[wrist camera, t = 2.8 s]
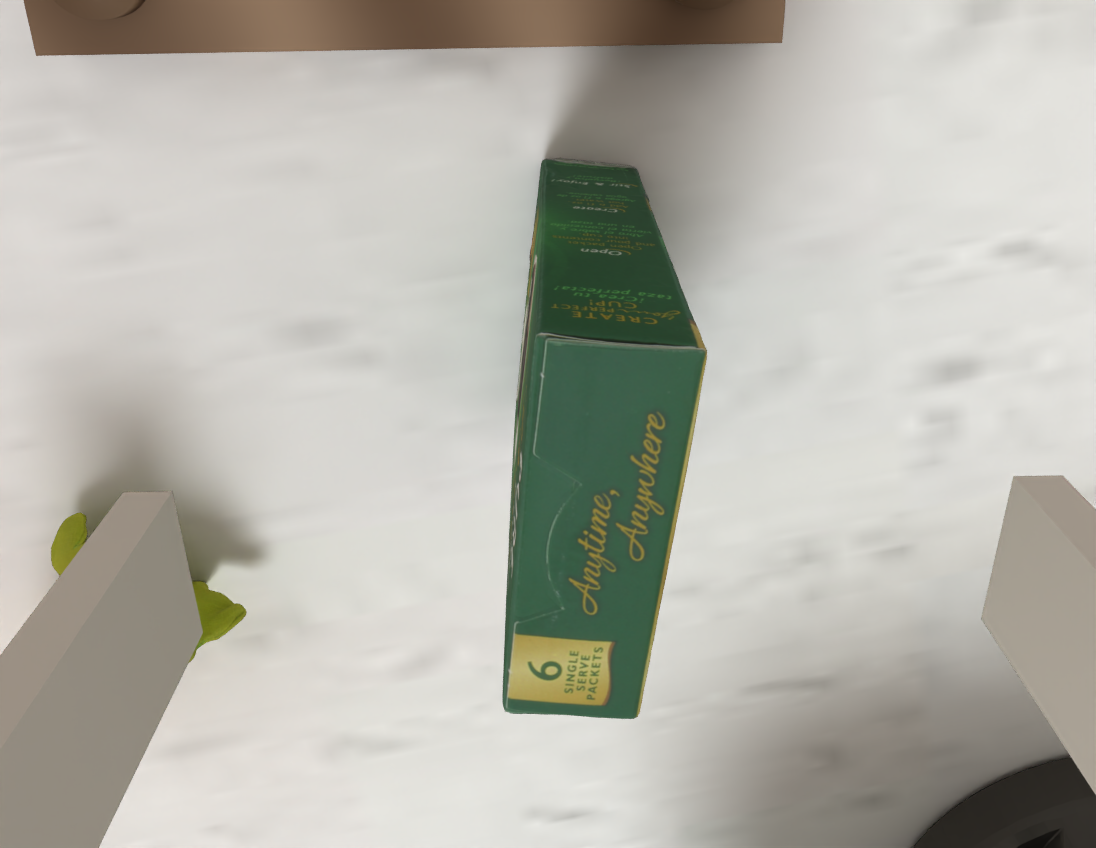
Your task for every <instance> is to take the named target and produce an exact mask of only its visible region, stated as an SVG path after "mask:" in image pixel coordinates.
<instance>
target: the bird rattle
mask: <svg viewBox="0 0 1096 848" xmlns="http://www.w3.org/2000/svg"><path fill="white" fill-rule="evenodd" d="M86 537H87V529H86V515H84V514H82V513H76V514H74V515H72V516H70V517H68V518H67V519H65V521H64V522H63V523H62V525H61V526H60V528H59V530H58V532H57V535H56V537H55V539H54V542H53V545H52V547H51V561H52V566H53V567H54V569H55V570H56V571H57V573H58V574H59V575H60V576H61V574H62V573H63V572H64V570H65V569H66V568H67V566H68V565H69V564H70V562H71V561H72V560H73V558H74V557H75V556H76V554H77V553H78V552H79V550H80V549H81V548H82V546H83V545H84V544H85V543H84V542H85V540H86ZM192 584H193V589H194V593H195V598H196V603H197V607H198V612H199V616H200V621H201V626H202V630H203V634H202V636H201V638H200V640H199V642H198V644H197V646H196V648H195V650H194V652H193V654H192V656H191V658H190V660H189V662H190V661H191V660H193V658H194V656H195V654H196V650H197V649H198V648H199V647H200V646H202V645H203V644H205V643H206V642H209V641H212V640H217V639H219V638H220V637H221V636H223V635H225V634H226V633H227V632H228V631H229V630H231V629H232V628H233V627H234V626H235V625H237V624H238V623H239V622H240V621H241V620H242V619H243V618H244V617H245V615H246V610H245V608H244V607H243V606H242V605H240V604H234V603H233V602H232V601H231V600H229V599H228V598H227V597H226V596H225V595H223V594H222V593H219V592H215V591H211V590H209V589H208V586H207V584H206V583H204V582H202V581H194V582H192Z"/></svg>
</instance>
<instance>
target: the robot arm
mask: <svg viewBox="0 0 1096 848" xmlns="http://www.w3.org/2000/svg"><path fill="white" fill-rule="evenodd" d="M981 619H982V621H983V622H984V624H985V625H986V627H987V628H988V630H989V632H990V633H991V635H992V636H993V638H994V639H995V641H996V642H997V644H998V645H999V647H1000V648H1001V650H1002V652H1003V653H1004V655H1005V656H1006V658H1007V659H1008V661H1009V662H1010V664H1011V665H1012V667H1013V668H1014V670H1015V672H1016V673H1017V675H1018V676H1019V678H1020V679H1021V681H1022V682H1023V684H1024V685H1025V687H1026V688H1027V690H1028V692H1029V693H1030V695H1031V696H1032V698H1033V699H1034V701H1035V702H1036V704H1037V705H1038V707H1039V708H1040V710H1041V712H1042V713H1043V715H1044V716H1045V718H1046V719H1047V721H1048V722H1049V724H1050V725H1051V727H1052V728H1053V730H1054V732H1055V733H1056V735H1057V736H1058V738H1059V739H1060V741H1061V742H1062V744H1063V745H1064V747H1065V748H1066V750H1067V752H1068V753H1069V755H1070V756H1071V758H1066V759H1062V760H1058V761H1054V762H1050V763H1046V764H1043V765H1040V766H1037V767H1034V768H1031V769H1028V770H1025V771H1022V772H1020V773H1017V774H1015V775H1012V776H1010V777H1008V778H1005V779H1003V780H1001V781H999V782H997V783H995V784H993V785H991V786H989V787H987V788H985V789H983V790H982V791H980V792H978V793H976V794H974V795H973V796H971V797H970V798H968V799H967V800H965V801H964V802H962V803H961V804H959V805H958V806H956V807H955V808H954V809H952V810H951V811H950V812H948V813H947V814H946V815H945V816H944V817H942V818H941V819H940V820H939V821H938V822H937V823H936V824H935V825H933V826H932V827H931V828H930V829H929V830H928V831H927V832H926V833H925V835H924V836H923V837H922V838H921V839H920V840H919V841H918V843H917V844H916V845H915V846H914V847H913V848H1096V509H1095V508H1094V507H1093V506H1092V505H1091V504H1090V503H1089V502H1088V501H1087V500H1086V499H1085V498H1084V497H1083V496H1082V495H1081V494H1080V493H1079V492H1078V491H1077V490H1076V489H1075V488H1074V487H1073V486H1072V485H1071V484H1070V483H1069V482H1068V481H1067V480H1066V479H1065V478H1064V477H1063V476H1013V481H1012V485H1011V490H1010V494H1009V498H1008V503H1007V507H1006V512H1005V516H1004V520H1003V525H1002V529H1001V534H1000V538H999V543H998V547H997V551H996V556H995V560H994V565H993V569H992V574H991V578H990V582H989V587H988V591H987V596H986V600H985V605H984V609H983V613H982V618H981ZM202 634H203V630H202V626H201V621H200V616H199V612H198V607H197V603H196V598H195V593H194V589H193V584H192V580H191V575H190V570H189V566H188V561H187V556H186V552H185V547H184V543H183V538H182V533H181V529H180V524H179V520H178V515H177V510H176V506H175V501H174V497H173V492H172V491H159V492H123V493H122V494H121V496H120V497H119V498H118V500H117V501H116V502H115V504H114V505H113V506H112V508H111V509H110V510H109V512H108V513H107V514H106V516H105V517H104V518H103V520H102V521H101V522H100V524H99V525H98V526H97V528H96V529H95V530H94V532H93V533H92V534H91V536H90V537H89V538H88V540H87V541H86V542H85V544H84V545H83V546H82V548H81V549H80V550H79V552H78V553H77V554H76V556H75V557H74V558H73V560H72V561H71V562H70V564H69V565H68V566H67V568H66V569H65V570H64V572H63V573H62V574H61V576H60V577H59V578H58V579H57V581H56V582H55V583H54V585H53V586H52V587H51V589H50V590H49V591H48V593H47V594H46V595H45V597H44V598H43V599H42V601H41V602H40V603H39V605H38V606H37V607H36V609H35V610H34V611H33V613H32V614H31V615H30V617H29V618H28V619H27V621H26V622H25V623H24V625H23V626H22V627H21V629H20V630H19V631H18V633H17V634H16V635H15V637H14V638H13V639H12V641H11V642H10V643H9V645H8V646H7V647H6V649H5V650H4V651H3V653H2V654H1V655H0V848H99V846H100V844H101V842H102V840H103V838H104V836H105V834H106V831H107V829H108V827H109V825H110V823H111V821H112V819H113V817H114V815H115V813H116V811H117V809H118V807H119V805H120V803H121V801H122V798H123V796H124V794H125V792H126V790H127V788H128V786H129V784H130V782H131V780H132V778H133V776H134V774H135V772H136V770H137V768H138V766H139V763H140V761H141V759H142V757H143V755H144V753H145V751H146V749H147V747H148V745H149V743H150V741H151V739H152V737H153V735H154V733H155V731H156V728H157V726H158V724H159V722H160V720H161V718H162V716H163V714H164V712H165V710H166V708H167V706H168V704H169V702H170V700H171V698H172V695H173V693H174V691H175V689H176V687H177V685H178V683H179V681H180V679H181V677H182V675H183V673H184V671H185V669H186V667H187V665H188V663H189V660H190V658H191V656H192V654H193V652H194V650H195V648H196V646H197V644H198V642H199V640H200V638H201V636H202Z"/></svg>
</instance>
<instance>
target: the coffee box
mask: <svg viewBox="0 0 1096 848" xmlns="http://www.w3.org/2000/svg"><path fill="white" fill-rule="evenodd" d="M706 360H707V350H706V348H705V345H704V343H703V341H702V338H701V335H700V332H699V330H698V327H697V325H696V323H695V321H694V319H693V316H692V314H691V312H690V310H689V307H688V304H687V301H686V299H685V296H684V294H683V291H682V289H681V286H680V283H679V280H678V277H677V275H676V273H675V270H674V268H673V264H672V262H671V260H670V257H669V255H668V252H667V249H666V247H665V244H664V241H663V239H662V236H661V233H660V231H659V228H658V226H657V223H656V221H655V218H654V215H653V213H652V210H651V208H650V205H649V199H648V197H647V195H646V193H645V190H644V188H643V185H642V182H641V180H640V176H639V173H638V171H637V169H636V168H634V167H632V166H626V165H617V164H606V163H595V162H589V161H578V160H572V159H562V158H559V159H545V160H543V161H542V163H541V171H540V180H539V189H538V198H537V206H536V215H535V223H534V232H533V238H532V246H531V250H530V269H529V278H528V287H527V297H526V307H525V317H524V328H523V336H522V345H521V358H520V368H519V378H518V389H517V400H516V414H515V429H514V447H513V466H512V488H511V508H510V529H509V556H508V574H507V595H506V621H505V647H504V673H503V707H504V710H505V712H509V713H513V714H558V715H574V716H586V717H598V718H619V719H634V718H636V717H638V714H639V712H640V708H641V703H642V697H643V691H644V686H645V681H646V677H647V672H648V667H649V662H650V656H651V650H652V645H653V641H654V635H655V630H656V624H657V619H658V614H659V609H660V604H661V599H662V594H663V589H664V584H665V580H666V575H667V569H668V564H669V558H670V553H671V548H672V543H673V538H674V533H675V527H676V522H677V517H678V512H679V507H680V502H681V497H682V492H683V487H684V482H685V476H686V471H687V466H688V461H689V455H690V450H691V444H692V439H693V433H694V428H695V422H696V417H697V411H698V405H699V398H700V392H701V386H702V380H703V375H704V370H705V365H706Z"/></svg>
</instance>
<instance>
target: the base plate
mask: <svg viewBox="0 0 1096 848" xmlns="http://www.w3.org/2000/svg"><path fill="white" fill-rule="evenodd" d="M24 4H25V9H26V13H27V17H28V22H29V26H30V31H31V35H32V39H33V44H34V48H35V52H36V56H42V55H100V54H158V53H216V52H274V51H331V50H389V49H447V48H505V47H563V46H621V45H679V44H736V43H782V37H783V24H784V12H785V0H24Z"/></svg>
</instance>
